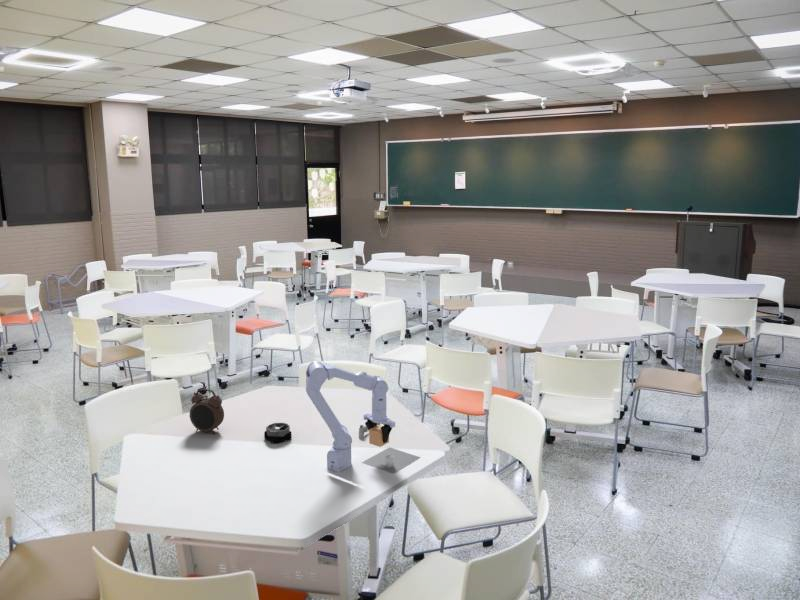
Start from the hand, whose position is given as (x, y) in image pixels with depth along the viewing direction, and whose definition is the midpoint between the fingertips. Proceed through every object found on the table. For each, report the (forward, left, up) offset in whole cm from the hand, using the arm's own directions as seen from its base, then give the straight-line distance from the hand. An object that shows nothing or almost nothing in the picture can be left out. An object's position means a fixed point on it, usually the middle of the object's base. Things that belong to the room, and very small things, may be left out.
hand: (379, 440), depth 243 cm
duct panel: (+3, -4, -9) cm, 11 cm away
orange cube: (0, 0, -1) cm, 1 cm away
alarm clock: (-23, +80, -10) cm, 84 cm away
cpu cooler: (-9, +50, -10) cm, 51 cm away
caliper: (+22, +23, -10) cm, 33 cm away
